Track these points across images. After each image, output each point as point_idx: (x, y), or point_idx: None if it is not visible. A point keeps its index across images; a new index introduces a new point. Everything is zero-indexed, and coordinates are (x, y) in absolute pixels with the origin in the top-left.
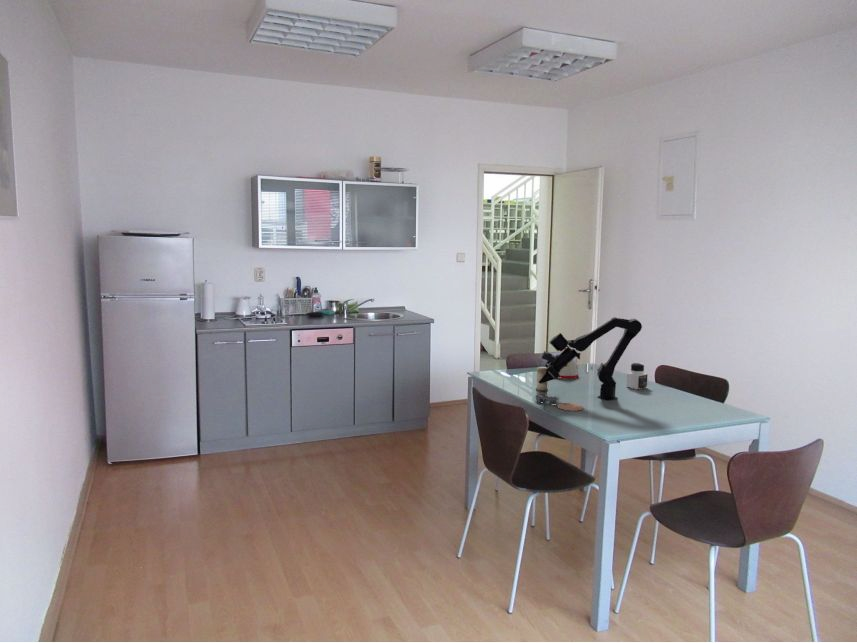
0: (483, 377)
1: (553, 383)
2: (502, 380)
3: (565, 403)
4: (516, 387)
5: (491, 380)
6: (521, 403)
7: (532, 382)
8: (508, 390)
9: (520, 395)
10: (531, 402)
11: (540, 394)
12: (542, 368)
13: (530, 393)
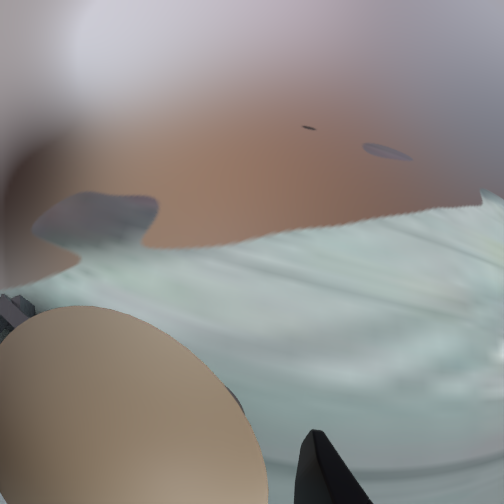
0: (498, 212)
1: (475, 500)
2: (496, 262)
3: None
4: (412, 296)
5: (481, 222)
6: (55, 227)
7: (499, 396)
8: (338, 235)
9: (206, 268)
10: (47, 279)
11: (19, 320)
12: (15, 415)
13: (255, 353)
